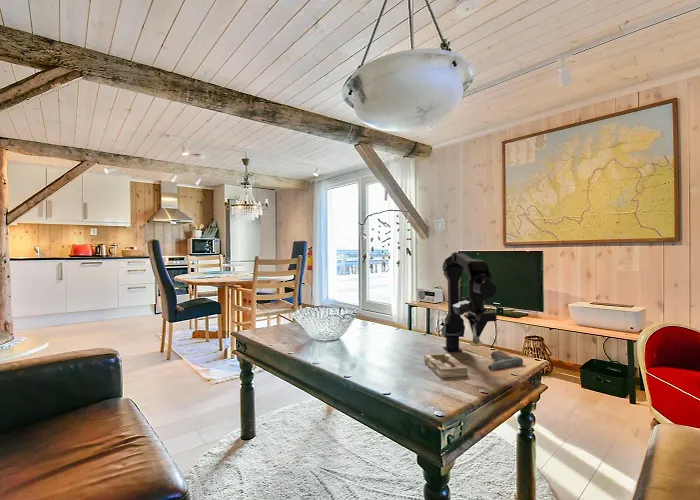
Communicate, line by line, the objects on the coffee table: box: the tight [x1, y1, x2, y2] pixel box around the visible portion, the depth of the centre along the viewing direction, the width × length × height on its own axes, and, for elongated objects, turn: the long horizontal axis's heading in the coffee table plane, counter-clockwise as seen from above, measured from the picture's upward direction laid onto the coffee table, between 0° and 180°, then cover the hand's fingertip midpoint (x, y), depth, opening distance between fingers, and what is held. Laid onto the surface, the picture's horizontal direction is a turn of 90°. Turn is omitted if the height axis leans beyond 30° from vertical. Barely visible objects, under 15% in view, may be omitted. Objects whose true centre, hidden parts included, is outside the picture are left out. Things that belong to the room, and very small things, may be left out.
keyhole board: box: [423, 352, 469, 379], centre depth 136 cm, size 17×10×3 cm, turn 8°
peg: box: [469, 324, 483, 347], centre depth 133 cm, size 4×4×8 cm
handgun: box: [488, 350, 524, 371], centre depth 142 cm, size 3×16×12 cm
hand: (476, 335), depth 133 cm, fingers closed on peg, 2 cm apart
